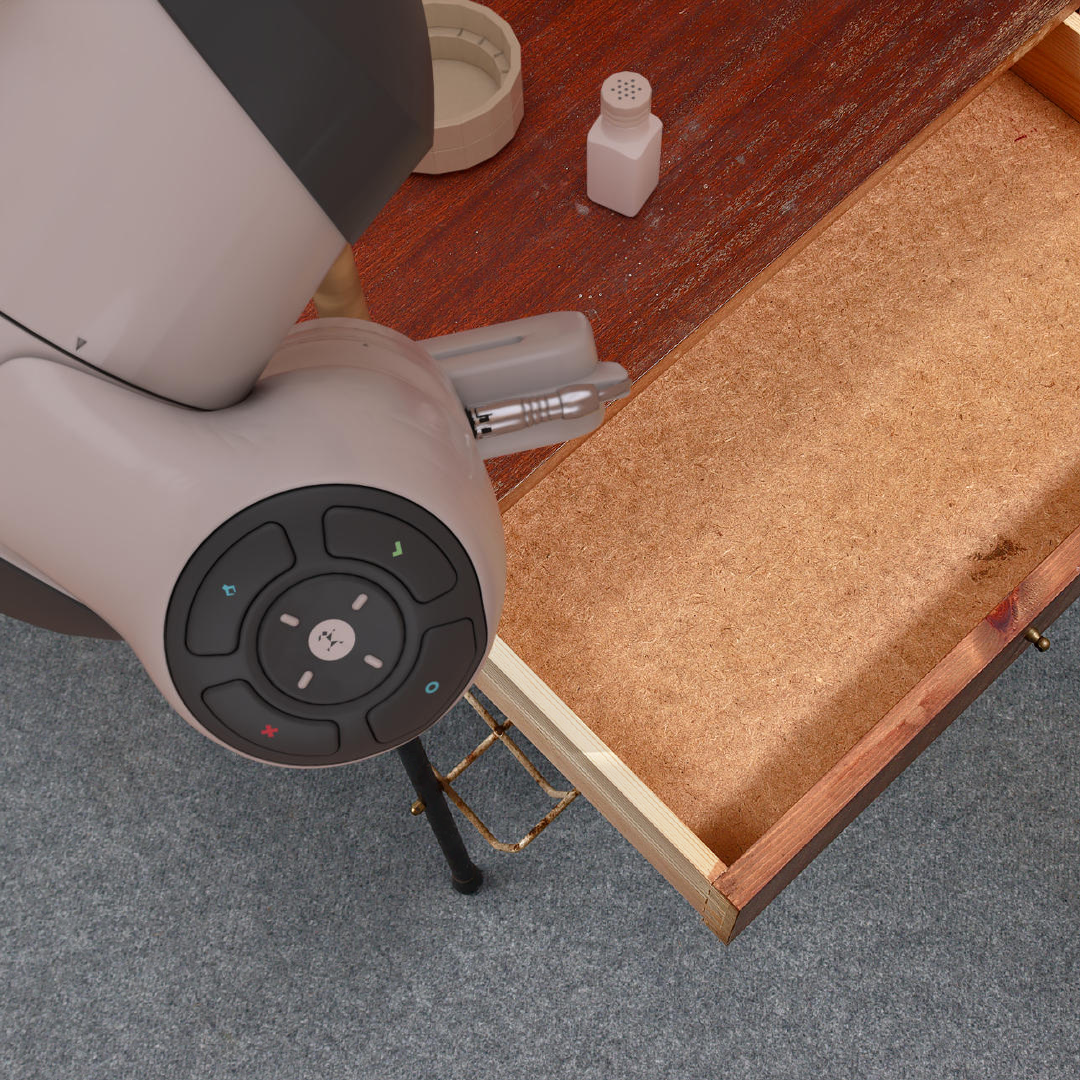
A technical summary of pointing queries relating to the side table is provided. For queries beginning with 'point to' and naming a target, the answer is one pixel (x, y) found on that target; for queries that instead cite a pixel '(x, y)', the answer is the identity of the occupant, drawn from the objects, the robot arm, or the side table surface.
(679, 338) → the side table surface
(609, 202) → the salt shaker
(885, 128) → the side table surface
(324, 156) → the robot arm
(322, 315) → the stirring stick
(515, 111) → the bowl
